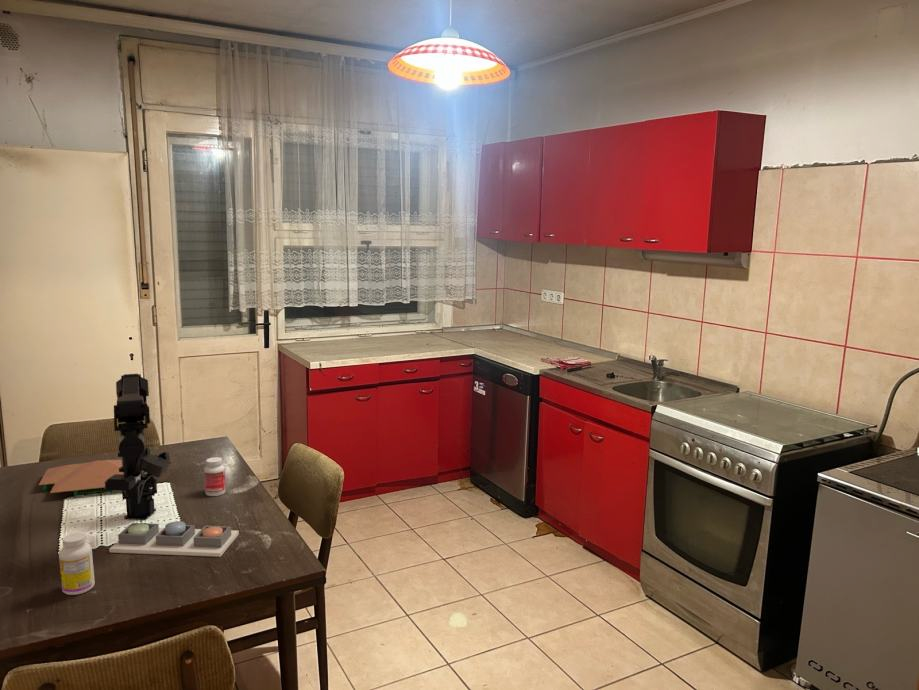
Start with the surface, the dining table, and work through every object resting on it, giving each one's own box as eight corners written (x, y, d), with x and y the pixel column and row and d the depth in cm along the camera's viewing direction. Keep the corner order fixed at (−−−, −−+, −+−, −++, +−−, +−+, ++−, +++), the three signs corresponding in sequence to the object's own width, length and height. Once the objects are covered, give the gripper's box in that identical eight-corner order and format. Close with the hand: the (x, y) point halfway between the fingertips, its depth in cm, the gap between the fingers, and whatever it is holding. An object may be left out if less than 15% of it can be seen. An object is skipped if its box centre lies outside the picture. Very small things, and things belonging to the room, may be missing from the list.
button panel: (109, 552, 175) (108, 539, 175) (135, 530, 188) (134, 518, 187) (220, 556, 174) (219, 544, 174) (238, 534, 187) (238, 522, 186)
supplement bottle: (70, 581, 161) (66, 530, 159) (99, 580, 162) (95, 530, 159) (56, 596, 154) (51, 543, 152) (87, 595, 155) (82, 543, 153)
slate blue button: (162, 537, 178) (161, 529, 178) (170, 529, 183) (170, 520, 183) (180, 538, 178) (180, 529, 178) (189, 529, 183) (188, 521, 183)
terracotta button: (199, 543, 178) (199, 534, 178) (207, 534, 183) (207, 526, 183) (218, 543, 178) (218, 535, 178) (225, 535, 183) (225, 526, 182)
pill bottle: (228, 494, 214) (226, 460, 212) (208, 498, 210) (206, 464, 209) (222, 487, 219) (221, 455, 217) (203, 491, 216) (201, 458, 214)
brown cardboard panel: (153, 491, 216) (152, 467, 214) (33, 505, 204) (31, 479, 203) (157, 467, 237) (156, 444, 236) (48, 478, 225) (46, 454, 224)
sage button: (124, 540, 179) (124, 531, 178) (134, 531, 184) (134, 523, 183) (143, 541, 179) (143, 532, 178) (152, 532, 184) (152, 524, 183)
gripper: (145, 459, 167) (149, 519, 170) (179, 436, 186) (182, 491, 188) (101, 458, 168) (105, 517, 170) (139, 435, 186) (143, 489, 189)
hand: (136, 503), depth 180 cm, fingers closed
